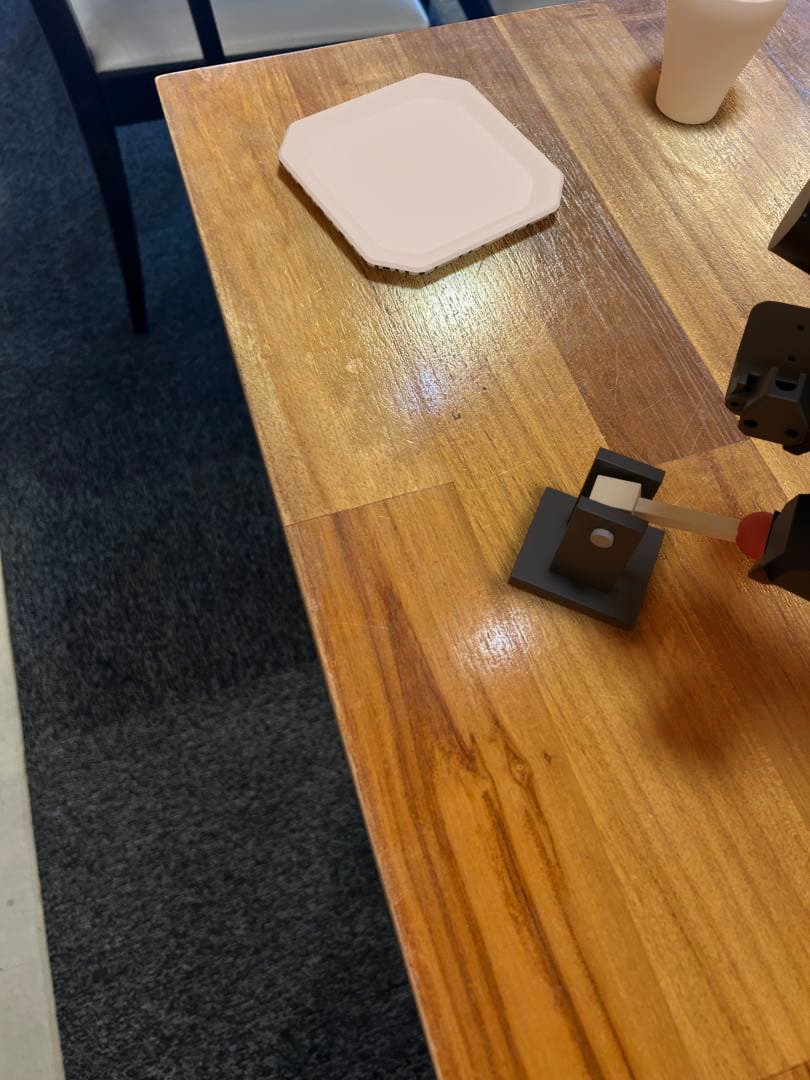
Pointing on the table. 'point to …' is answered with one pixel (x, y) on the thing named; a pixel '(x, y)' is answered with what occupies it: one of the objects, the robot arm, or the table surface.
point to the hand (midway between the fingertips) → (773, 511)
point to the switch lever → (685, 516)
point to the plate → (420, 173)
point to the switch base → (593, 546)
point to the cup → (709, 52)
